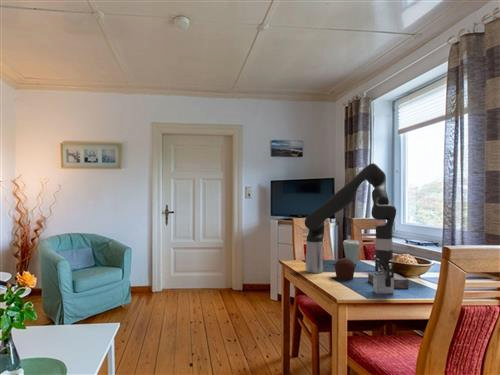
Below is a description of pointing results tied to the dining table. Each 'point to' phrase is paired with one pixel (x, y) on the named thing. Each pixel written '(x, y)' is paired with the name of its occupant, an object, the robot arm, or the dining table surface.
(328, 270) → the dining table surface
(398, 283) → the plinth
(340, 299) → the dining table surface
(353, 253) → the disposable coffee cup
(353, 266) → the muffin
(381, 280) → the medicine box
